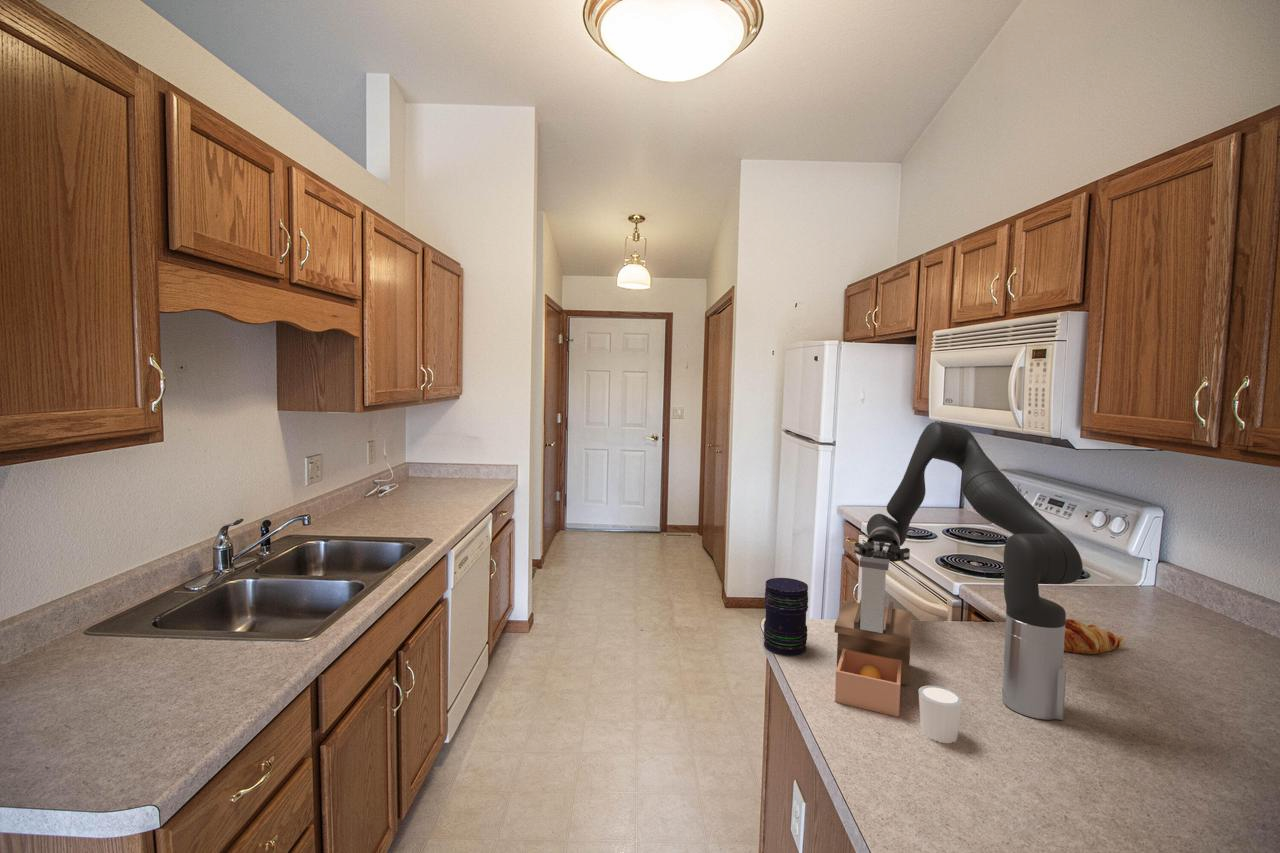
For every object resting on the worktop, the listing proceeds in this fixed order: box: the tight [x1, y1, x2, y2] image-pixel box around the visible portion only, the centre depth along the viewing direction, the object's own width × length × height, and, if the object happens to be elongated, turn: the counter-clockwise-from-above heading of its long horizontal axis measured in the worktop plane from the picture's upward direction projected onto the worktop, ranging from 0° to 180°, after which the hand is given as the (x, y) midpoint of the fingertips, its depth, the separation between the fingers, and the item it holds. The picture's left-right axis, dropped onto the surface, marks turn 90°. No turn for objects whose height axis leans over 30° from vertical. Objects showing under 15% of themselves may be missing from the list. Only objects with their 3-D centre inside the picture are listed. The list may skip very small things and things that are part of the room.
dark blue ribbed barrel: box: [763, 577, 809, 657], centre depth 132 cm, size 10×10×15 cm
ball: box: [860, 665, 881, 679], centre depth 114 cm, size 4×4×4 cm
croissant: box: [1064, 618, 1125, 655], centre depth 135 cm, size 21×10×8 cm, turn 91°
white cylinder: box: [917, 685, 963, 744], centre depth 99 cm, size 7×7×7 cm
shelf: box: [833, 599, 912, 686], centre depth 120 cm, size 14×16×14 cm
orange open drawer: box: [834, 649, 902, 718], centre depth 111 cm, size 11×11×6 cm
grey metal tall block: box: [859, 555, 890, 633], centre depth 113 cm, size 5×4×14 cm
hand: (879, 559), depth 130 cm, fingers closed
